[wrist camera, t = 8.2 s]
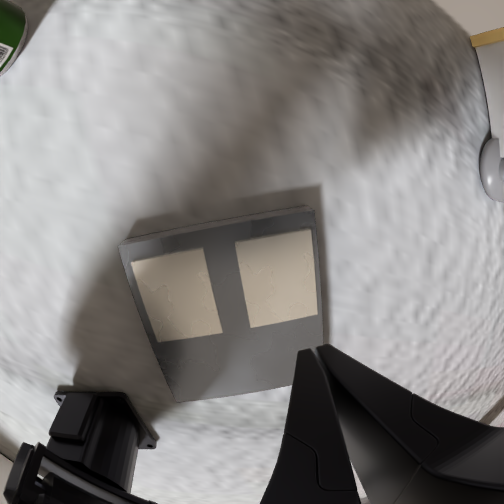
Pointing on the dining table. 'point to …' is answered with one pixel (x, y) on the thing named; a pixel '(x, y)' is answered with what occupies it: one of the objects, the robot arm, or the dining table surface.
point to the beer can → (11, 33)
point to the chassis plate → (229, 300)
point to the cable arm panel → (493, 109)
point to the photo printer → (4, 475)
